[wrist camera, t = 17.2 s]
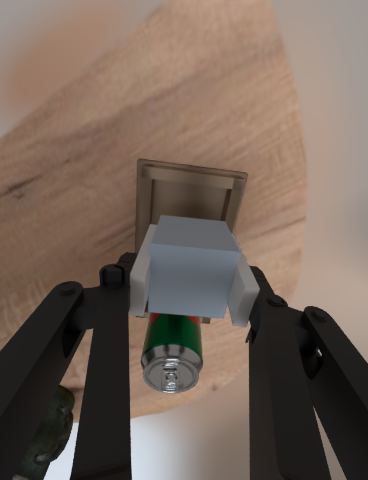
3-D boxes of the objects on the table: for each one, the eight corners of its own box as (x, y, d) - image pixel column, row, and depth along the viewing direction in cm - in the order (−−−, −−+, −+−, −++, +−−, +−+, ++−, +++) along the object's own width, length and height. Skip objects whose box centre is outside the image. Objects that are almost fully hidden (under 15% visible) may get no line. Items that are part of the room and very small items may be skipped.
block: (161, 214, 16) (151, 243, 12) (225, 221, 16) (240, 252, 12) (157, 269, 18) (147, 311, 14) (214, 275, 19) (223, 318, 14)
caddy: (135, 301, 30) (130, 317, 27) (139, 158, 22) (132, 162, 19) (212, 308, 31) (214, 325, 28) (245, 172, 22) (253, 178, 19)
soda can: (160, 297, 28) (143, 397, 18) (154, 265, 26) (132, 357, 15) (198, 295, 28) (205, 395, 17) (196, 263, 26) (202, 354, 15)
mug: (4, 388, 39) (-64, 483, 29) (67, 367, 37) (18, 464, 26) (44, 416, 44) (-1, 508, 33) (103, 399, 41) (74, 494, 30)
